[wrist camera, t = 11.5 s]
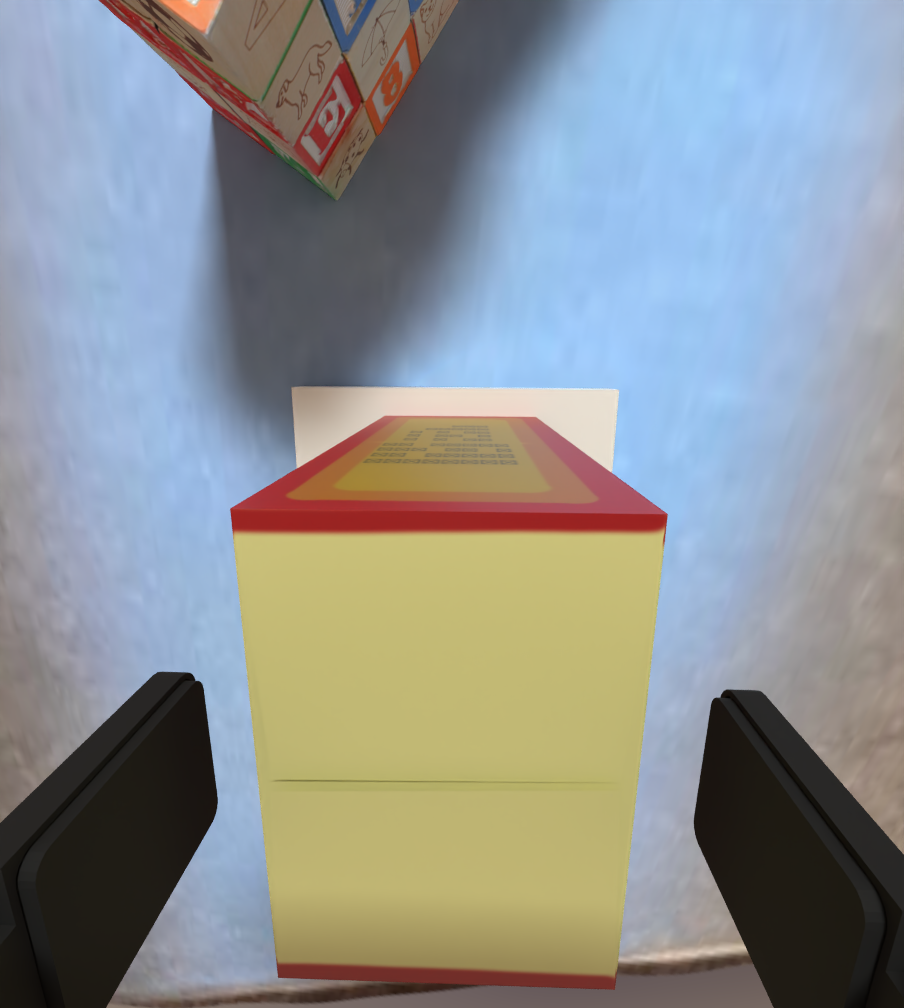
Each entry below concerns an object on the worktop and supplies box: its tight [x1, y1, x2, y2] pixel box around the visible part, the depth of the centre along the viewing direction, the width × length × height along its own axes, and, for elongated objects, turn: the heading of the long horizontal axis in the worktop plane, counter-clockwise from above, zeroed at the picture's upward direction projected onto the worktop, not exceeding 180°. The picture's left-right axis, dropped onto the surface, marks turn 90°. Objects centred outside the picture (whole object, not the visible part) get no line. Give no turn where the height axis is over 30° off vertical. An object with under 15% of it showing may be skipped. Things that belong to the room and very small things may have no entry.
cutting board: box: [291, 386, 619, 473], centre depth 25 cm, size 14×12×2 cm
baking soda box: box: [230, 416, 668, 990], centre depth 17 cm, size 10×6×16 cm
